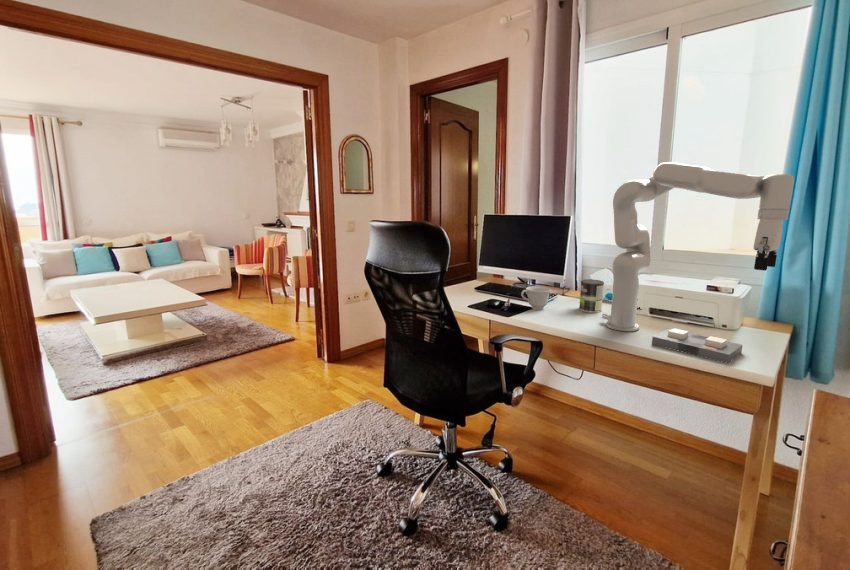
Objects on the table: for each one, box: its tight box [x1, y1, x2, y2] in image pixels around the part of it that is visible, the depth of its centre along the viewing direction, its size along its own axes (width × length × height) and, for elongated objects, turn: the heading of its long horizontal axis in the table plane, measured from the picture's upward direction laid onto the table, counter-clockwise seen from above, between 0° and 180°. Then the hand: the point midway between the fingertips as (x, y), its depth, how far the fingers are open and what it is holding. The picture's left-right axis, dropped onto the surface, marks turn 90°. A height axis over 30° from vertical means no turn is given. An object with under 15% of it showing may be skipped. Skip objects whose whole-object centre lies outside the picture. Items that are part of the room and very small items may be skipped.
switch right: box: [705, 335, 728, 349], centre depth 145 cm, size 5×5×3 cm
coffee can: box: [578, 278, 605, 314], centre depth 201 cm, size 10×10×14 cm
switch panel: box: [651, 328, 743, 364], centre depth 150 cm, size 24×14×3 cm, turn 39°
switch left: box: [668, 327, 689, 340], centre depth 155 cm, size 5×5×3 cm
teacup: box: [520, 285, 552, 311], centre depth 205 cm, size 12×15×10 cm
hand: (764, 268), depth 136 cm, fingers open, 9 cm apart
